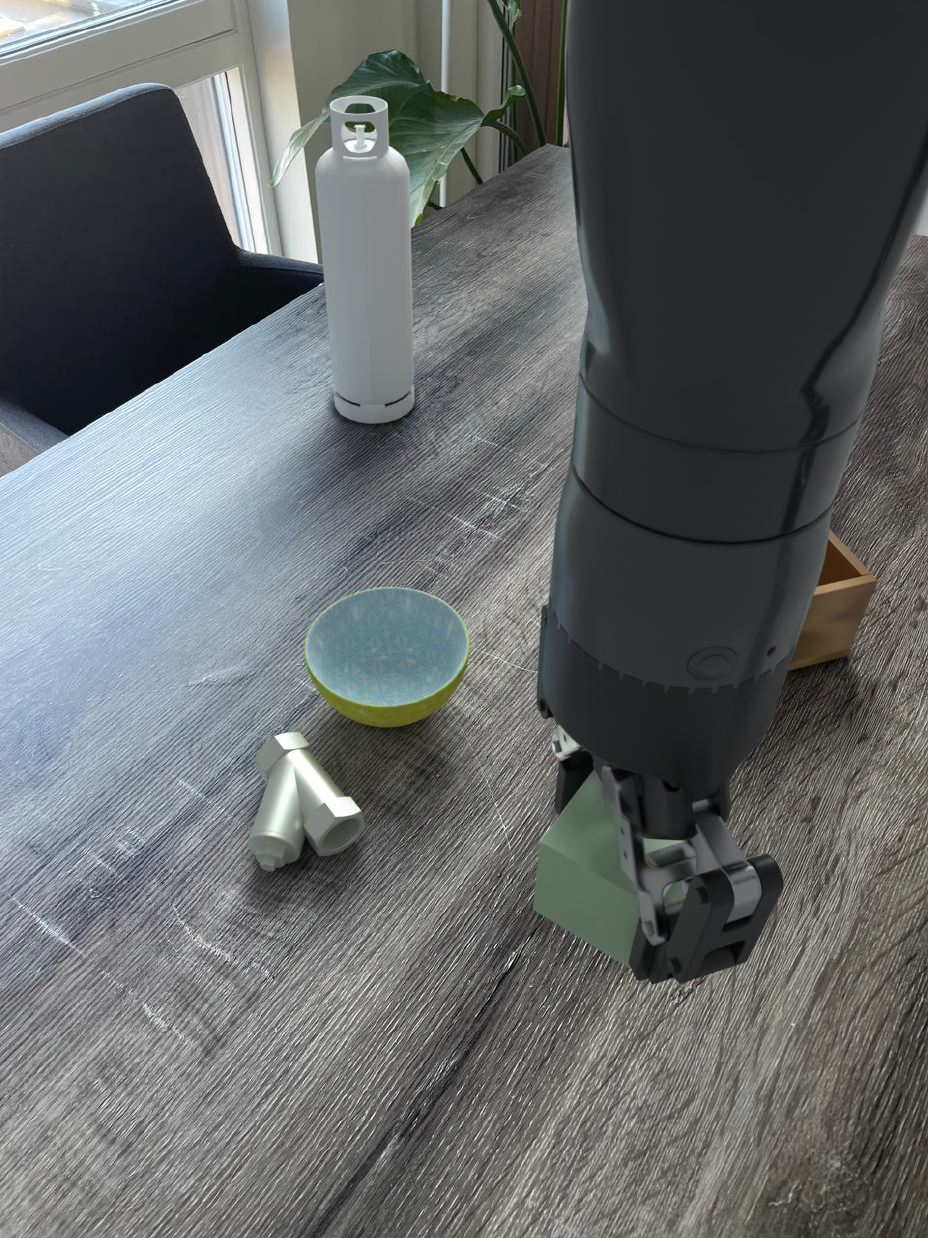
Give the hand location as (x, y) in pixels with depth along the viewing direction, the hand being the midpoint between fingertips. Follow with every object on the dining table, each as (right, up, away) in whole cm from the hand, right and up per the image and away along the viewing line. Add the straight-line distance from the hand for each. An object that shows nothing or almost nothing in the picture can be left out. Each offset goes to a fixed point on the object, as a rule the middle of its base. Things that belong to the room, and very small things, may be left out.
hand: (615, 883), depth 41 cm
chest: (+15, +10, +38) cm, 42 cm away
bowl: (-12, +5, +31) cm, 34 cm away
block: (0, -1, +1) cm, 1 cm away
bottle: (-15, +33, +60) cm, 70 cm away
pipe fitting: (-18, -2, +24) cm, 30 cm away
